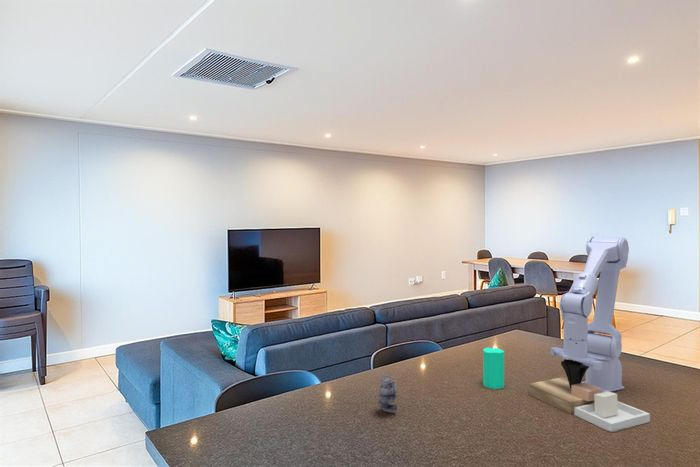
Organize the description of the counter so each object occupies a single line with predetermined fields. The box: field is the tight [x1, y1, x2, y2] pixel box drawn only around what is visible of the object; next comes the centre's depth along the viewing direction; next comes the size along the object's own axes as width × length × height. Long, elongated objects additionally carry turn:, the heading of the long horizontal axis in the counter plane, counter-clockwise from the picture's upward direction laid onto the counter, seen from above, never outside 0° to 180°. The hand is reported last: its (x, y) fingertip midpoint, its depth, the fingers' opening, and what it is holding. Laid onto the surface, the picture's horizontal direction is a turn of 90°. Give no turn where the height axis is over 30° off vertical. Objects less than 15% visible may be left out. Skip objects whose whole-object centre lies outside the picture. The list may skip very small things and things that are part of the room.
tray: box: [574, 400, 651, 433], centre depth 111 cm, size 14×10×2 cm
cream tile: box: [594, 391, 618, 418], centre depth 113 cm, size 5×5×2 cm
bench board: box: [527, 376, 603, 415], centre depth 123 cm, size 14×14×3 cm
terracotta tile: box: [571, 381, 602, 401], centre depth 118 cm, size 5×5×2 cm
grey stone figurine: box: [376, 374, 398, 413], centre depth 115 cm, size 5×5×10 cm
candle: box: [482, 347, 505, 390], centre depth 134 cm, size 6×6×12 cm
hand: (574, 388), depth 121 cm, fingers closed
